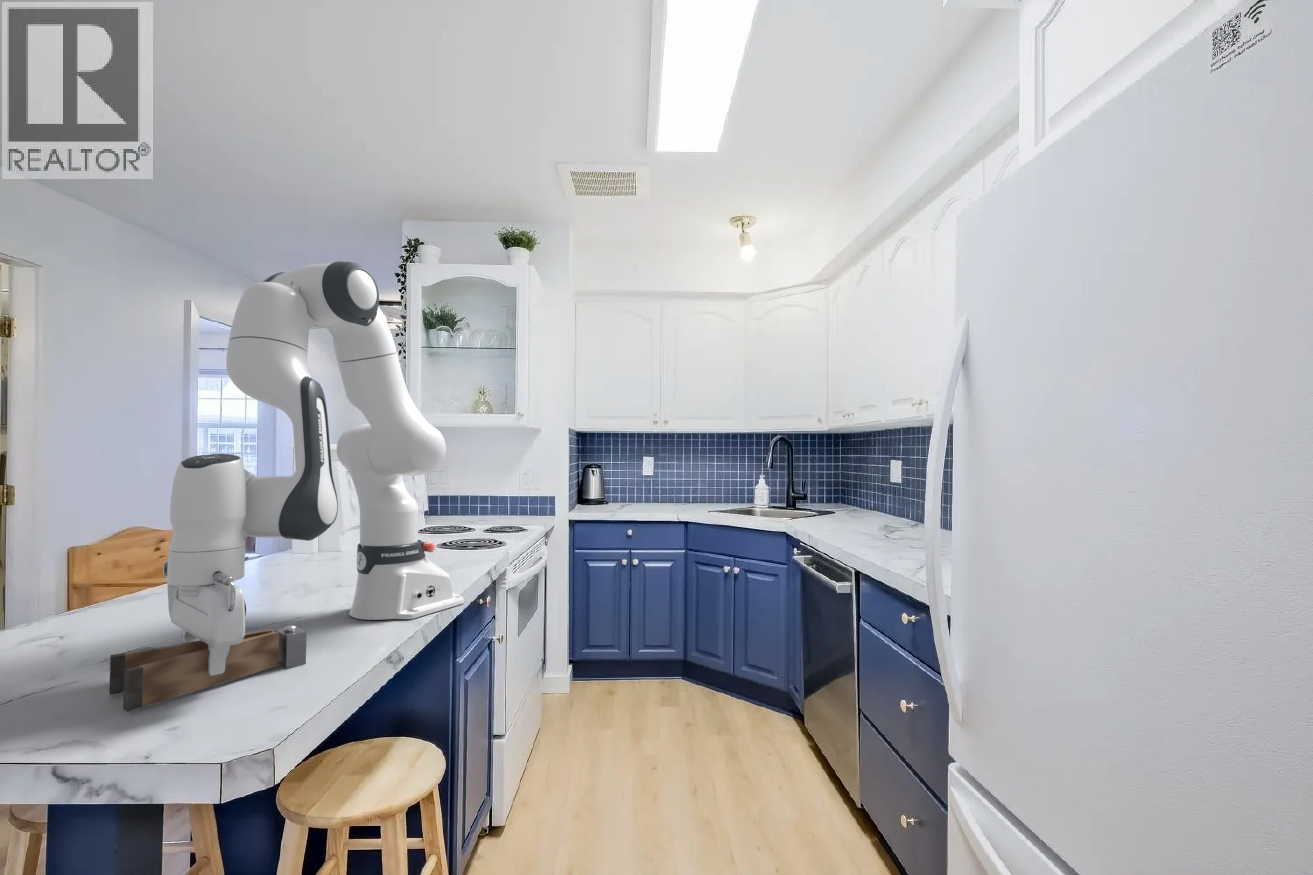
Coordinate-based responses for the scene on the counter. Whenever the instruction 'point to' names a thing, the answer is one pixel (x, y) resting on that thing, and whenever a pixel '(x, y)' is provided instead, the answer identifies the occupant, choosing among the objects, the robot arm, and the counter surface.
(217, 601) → the robot arm
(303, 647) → the block
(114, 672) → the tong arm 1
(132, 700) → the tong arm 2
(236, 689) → the counter surface
